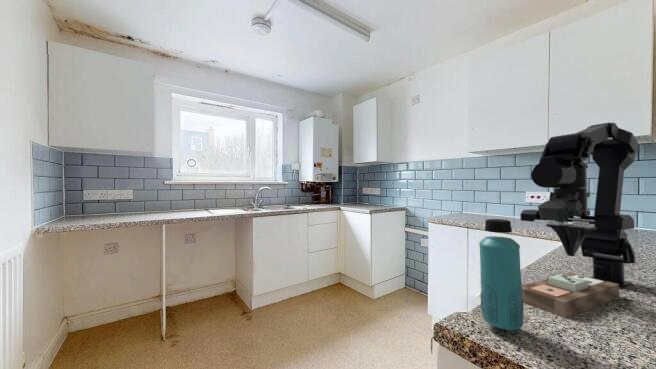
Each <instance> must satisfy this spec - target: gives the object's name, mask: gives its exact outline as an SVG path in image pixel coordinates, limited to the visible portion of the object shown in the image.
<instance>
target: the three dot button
mask: <svg viewBox="0 0 656 369" xmlns="http://www.w3.org/2000/svg"><path fill="white" fill-rule="evenodd" d="M547 279H548V280H549V284H550V285H553V286H557V287H560V288H564V289H568V290H571V291H575V292H578V291H581V290H585V289H588V281H587V280H583V279H579V278H575V277H571V276H566V275H564V274H562V273H560V274H556V275H552V276H549V277H548V278H547Z"/></svg>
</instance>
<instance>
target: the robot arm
mask: <svg viewBox="0 0 656 369" xmlns="http://www.w3.org/2000/svg"><path fill="white" fill-rule="evenodd" d="M639 147H640V146H639V142H638V139H637V138H636V136H635V135H634V134H633V132H631V131H628V130H626V129H623V128H620V127H618V125H617V123H615V122H604V123H598V124H593V125H590V126H587V127H586V128H585V129H582V130H580V131H578V132H575V133H570V134H569V133H568V134H562V135H561V134H560V135H556V136H551V137H550V138H549V139H548V142H547V143H546V144H545V146H544V149H543V151H542V154H541V156H540V159H539V160H538V162H539V163H538V164H536V165H535V166H534V167H533V168H532V171H531V173H530V177H531V181H532V182H533V183H534V185H536V186H537V187H540V188H545V189H546V188H548V189H549V188H550V189H552V190H553V191H552V192H550V194H549V200H546V201H544V202H543V203H541V204H540V205H538V206H537V208H538V209H536V208H535V209H523V210H522V211H521V212H520V215H519V218H520V220H519V221H523V222H531V223H532V222H535V221H544V222H547V224H545V226H546V227H549V228H550V229H552V230H553V231H554V233H556V235H557V236H558V238H559V240H560V242H561V244H562V246H563V249H564V250H565V253H566V255H567V256H568V257H575V255H576V254H577V252H578V250H579V248H581V249H580V250H581V253H582V257H584V258H586V257H587V258H591V260H592V262H591V263H592V276H589V277H590V278H595V279H599V280H603V281H608V282H612V283H616V284H619V289H621V288H625V287H628V286H630V285H632V282H631V281H627V280H625V264H626V265H628V264H633V265H634V264H636V253H635V251H634V248H633V247H632V246H633V245H632V243H631V242H630V241H629V238H628V234H627V232H626V231H625V230H633V229H635V220H634V217H633V216H631V215H630V214H621V205H622V196H623V195H622V194H623V184H624V175H625V174H624V173H625V170H626V169H628V168H629V167H630V166H631V165H632V164H633V163H634V162H635V158H636V154H637V153H638V152H639ZM590 156H592V157H591V158H592V160H593V162H594V163H595V164H596V165H597V166H598V177H597V178H598V180H597V185H596V186H597V187H596V193H595V194H596V196H595V205H594V210H593V211H594V213H593V215H591V210H588V198H590V196H591V195H590V193H591V192H588V189H587V187H588V185H587V169H588V168H589V166H588V164H587V163H586V162H585V161H587V159H588V158H590ZM569 223H572V224H569Z"/></svg>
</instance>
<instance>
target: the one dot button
mask: <svg viewBox="0 0 656 369" xmlns="http://www.w3.org/2000/svg"><path fill="white" fill-rule="evenodd" d="M530 289H531V290H534V291H537V292H540V293H543V294H547V295H550V296H553V297H556V298H559V297H562V296H566V295H569V294H570V292H568V291H565V290H561V289H558V288H554V287H551V286H547V285H544V284H543V285H539V286H536V287H532V288H530Z"/></svg>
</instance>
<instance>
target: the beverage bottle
mask: <svg viewBox="0 0 656 369" xmlns="http://www.w3.org/2000/svg"><path fill="white" fill-rule="evenodd" d="M484 226H485V227H484V231H486V232H491V233H499V234H500V233H503V234H504V233H512V231H513V230H512V229H513V228H512V223H511V221H510V220H508V219H500V218H490V219H486V220H485V225H484ZM478 246H479V256H480V257H479V261H480V264H479V265H480V269H479V276H480V280H479V281H480V282H479V283H480V284H479V286H480V311H481V316H482V319H483V320H484V321H485V323H486V324H487V323H488V324H489V325H491V326H493V327H495V328H498V329H503V330H506V331H507V330H508V331H515V330H516V331H517V330H520V329H522V328H523V325H524V323H525V322H524V318H525V315H524V309H525V308H524V303H523V298H522V295H523V294H522V292H523V290H522V287H523V285H524V284H523V281H522V277H523V276H522V273H521V252H520V248H521V246H520V244H519V243H518V242H517V241H515V240H514V239H513V238H511V237H507V236H497V235H495V236H494V235H490V236H485V237H484V238H483V239H481V240H480V241H479V243H478Z"/></svg>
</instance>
